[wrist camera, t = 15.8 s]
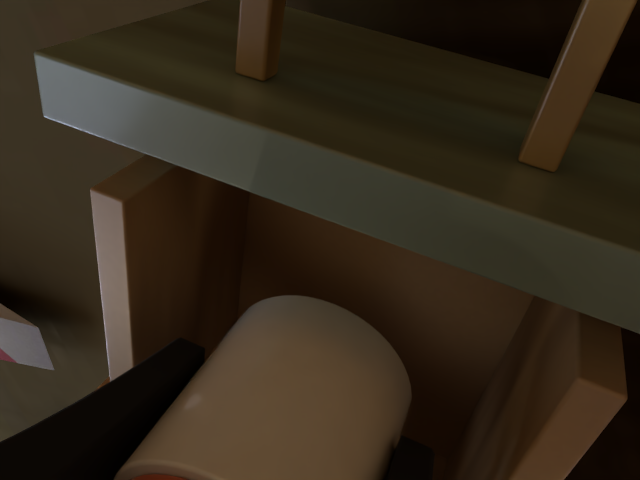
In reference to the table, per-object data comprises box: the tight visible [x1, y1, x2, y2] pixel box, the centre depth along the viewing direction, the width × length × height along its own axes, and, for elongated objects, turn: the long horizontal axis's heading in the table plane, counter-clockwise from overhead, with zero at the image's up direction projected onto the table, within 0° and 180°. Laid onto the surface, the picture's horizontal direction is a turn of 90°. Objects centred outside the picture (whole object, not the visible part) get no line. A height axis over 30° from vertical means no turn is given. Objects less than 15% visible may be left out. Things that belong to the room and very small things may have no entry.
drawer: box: [34, 0, 640, 480], centre depth 13 cm, size 18×11×7 cm, turn 170°
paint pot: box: [113, 295, 412, 480], centre depth 11 cm, size 4×4×5 cm
